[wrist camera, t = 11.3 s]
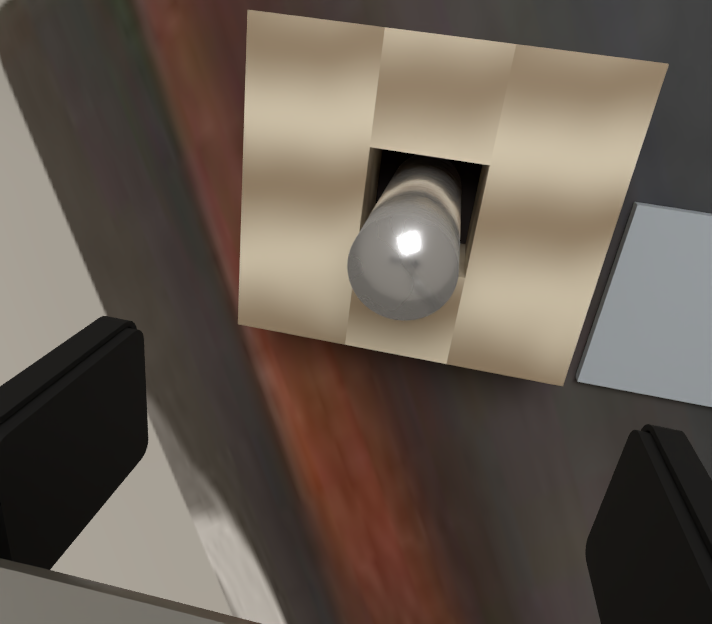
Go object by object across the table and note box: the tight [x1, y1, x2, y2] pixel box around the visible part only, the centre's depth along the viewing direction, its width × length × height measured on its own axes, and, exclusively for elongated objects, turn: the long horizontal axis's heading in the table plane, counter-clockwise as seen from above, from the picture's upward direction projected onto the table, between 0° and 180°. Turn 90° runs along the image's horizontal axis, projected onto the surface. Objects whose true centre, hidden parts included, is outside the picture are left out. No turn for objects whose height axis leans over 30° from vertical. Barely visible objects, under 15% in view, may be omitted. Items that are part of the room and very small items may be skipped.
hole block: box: [238, 10, 669, 386], centre depth 27 cm, size 14×16×5 cm
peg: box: [347, 154, 462, 321], centre depth 24 cm, size 4×4×12 cm
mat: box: [576, 202, 712, 407], centre depth 29 cm, size 10×10×1 cm
